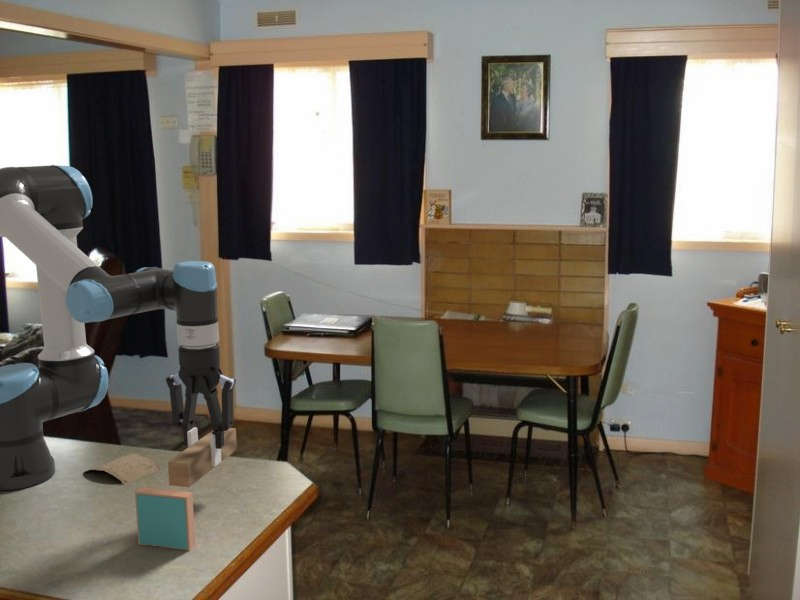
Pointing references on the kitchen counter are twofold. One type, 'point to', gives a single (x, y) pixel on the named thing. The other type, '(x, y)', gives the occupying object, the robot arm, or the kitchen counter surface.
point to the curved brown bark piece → (129, 467)
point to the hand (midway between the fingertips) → (205, 462)
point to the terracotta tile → (165, 518)
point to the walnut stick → (198, 460)
